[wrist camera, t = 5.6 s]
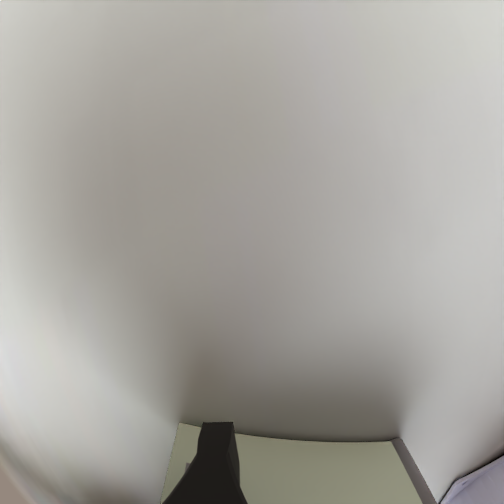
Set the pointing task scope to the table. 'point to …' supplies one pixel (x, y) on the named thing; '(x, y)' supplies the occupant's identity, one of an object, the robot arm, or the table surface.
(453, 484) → the robot arm
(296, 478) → the door
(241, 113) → the table surface
